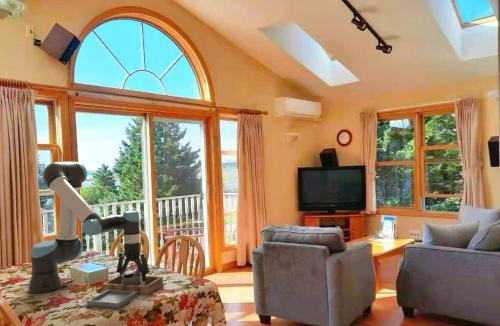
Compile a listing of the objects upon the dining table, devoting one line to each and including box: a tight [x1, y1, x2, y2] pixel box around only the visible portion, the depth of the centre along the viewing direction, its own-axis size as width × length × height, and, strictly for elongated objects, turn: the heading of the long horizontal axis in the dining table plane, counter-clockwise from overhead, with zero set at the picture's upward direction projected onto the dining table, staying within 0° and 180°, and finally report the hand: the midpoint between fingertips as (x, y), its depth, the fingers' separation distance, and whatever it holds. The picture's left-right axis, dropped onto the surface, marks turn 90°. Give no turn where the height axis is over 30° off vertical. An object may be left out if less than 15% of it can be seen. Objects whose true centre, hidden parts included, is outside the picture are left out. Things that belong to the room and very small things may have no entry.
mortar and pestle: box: [122, 267, 142, 286], centre depth 194 cm, size 11×9×12 cm
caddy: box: [101, 274, 164, 297], centre depth 195 cm, size 24×16×4 cm, turn 75°
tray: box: [86, 289, 138, 310], centre depth 178 cm, size 16×16×3 cm
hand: (133, 286), depth 195 cm, fingers closed on mortar and pestle, 10 cm apart
